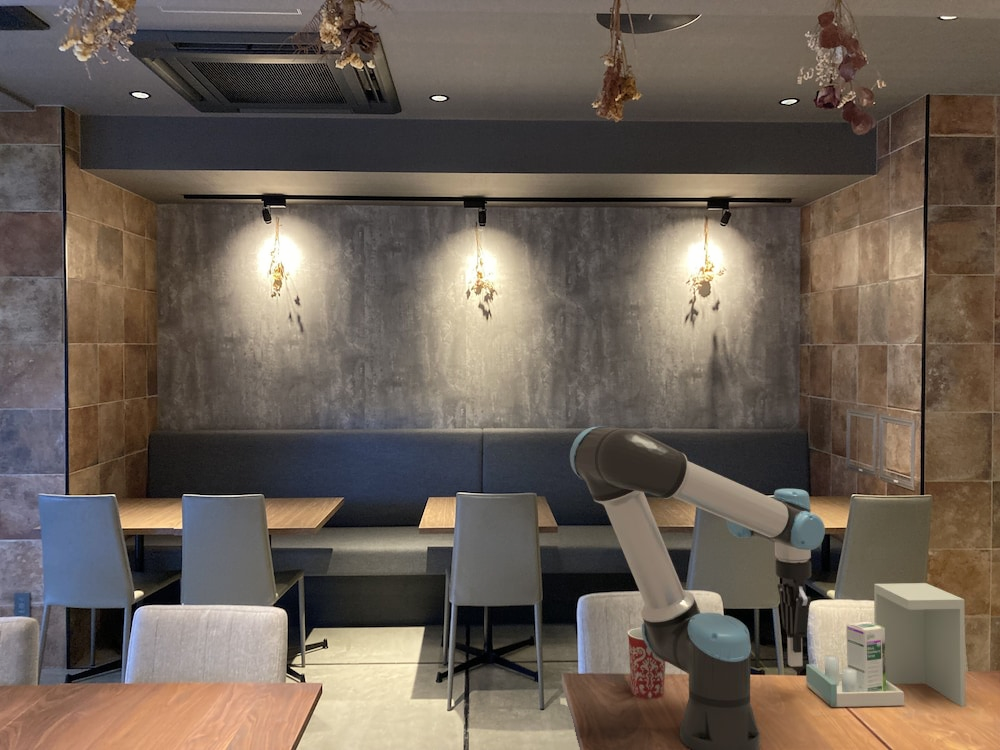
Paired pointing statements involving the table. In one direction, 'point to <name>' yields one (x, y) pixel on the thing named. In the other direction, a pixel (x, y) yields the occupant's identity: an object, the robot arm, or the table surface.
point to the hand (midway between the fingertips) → (795, 665)
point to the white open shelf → (923, 636)
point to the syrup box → (867, 655)
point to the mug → (644, 667)
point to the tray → (870, 696)
